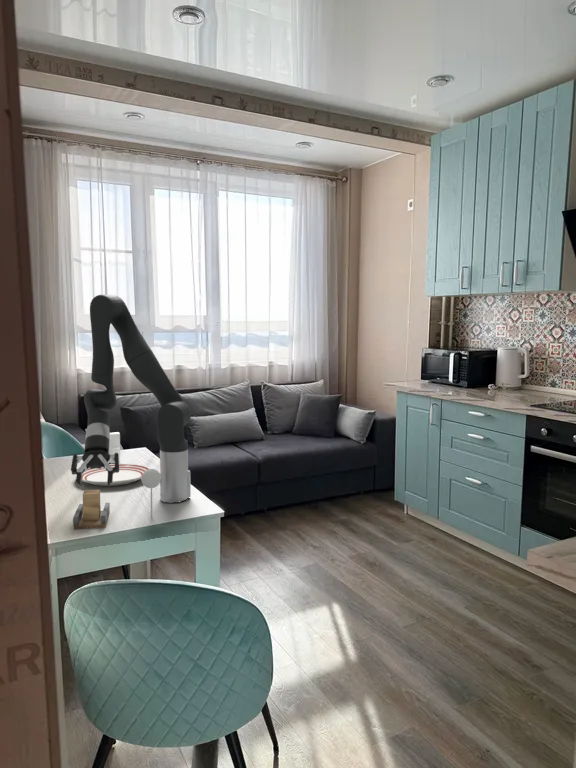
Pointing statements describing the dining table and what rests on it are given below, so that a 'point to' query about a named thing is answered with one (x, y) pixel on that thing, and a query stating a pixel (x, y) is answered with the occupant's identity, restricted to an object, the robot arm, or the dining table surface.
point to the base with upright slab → (114, 445)
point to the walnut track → (86, 524)
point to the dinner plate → (114, 475)
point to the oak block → (91, 505)
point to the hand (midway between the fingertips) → (94, 484)
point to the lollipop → (151, 480)
